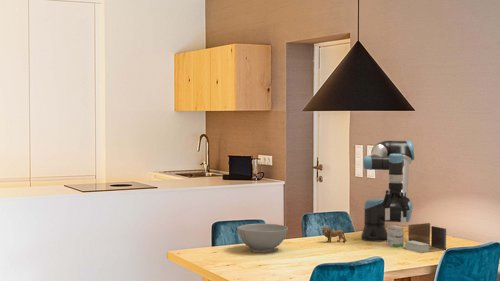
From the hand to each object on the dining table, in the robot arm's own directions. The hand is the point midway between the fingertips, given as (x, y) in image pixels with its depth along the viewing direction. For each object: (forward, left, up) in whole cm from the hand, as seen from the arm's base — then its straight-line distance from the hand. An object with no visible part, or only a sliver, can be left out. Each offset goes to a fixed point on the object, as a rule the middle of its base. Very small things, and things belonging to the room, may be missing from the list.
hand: (395, 221), depth 391 cm
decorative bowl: (-27, -67, -14) cm, 74 cm away
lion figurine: (-29, -20, -14) cm, 38 cm away
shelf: (+14, +9, -14) cm, 22 cm away
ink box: (0, 0, -14) cm, 14 cm away
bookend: (+15, +17, -13) cm, 26 cm away
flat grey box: (+15, +2, -13) cm, 20 cm away
